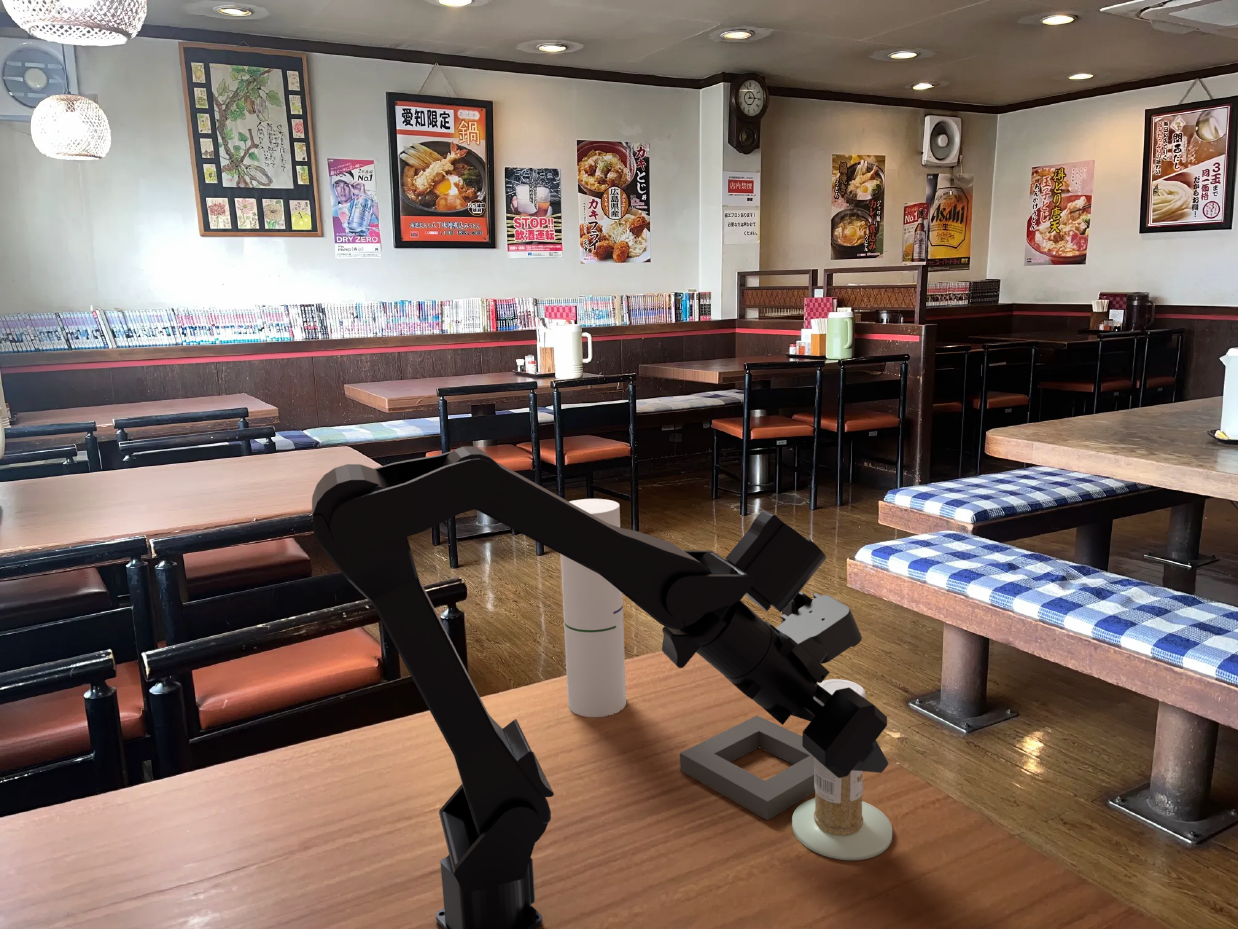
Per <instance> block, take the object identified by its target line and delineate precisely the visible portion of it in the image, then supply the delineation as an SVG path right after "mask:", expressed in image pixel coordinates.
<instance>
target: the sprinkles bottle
mask: <svg viewBox="0 0 1238 929" xmlns="http://www.w3.org/2000/svg"><path fill="white" fill-rule="evenodd" d="M817 684H818V685H819V686H821V687H822V688H823V689H825V690H826V691H827V692H829V693H830V694H831V695H832V694H833V693H834V692H835V691H836V690H839V689H844V688H849V687H850V688H851V689H852V690H854V691H855V692H857V693H858V694H859V695H861V696H862V697H864V698H865V699H866V698H867V697H866V696H867V695H866V691H865V689H864V688H863V686H862V685H860V684H859V683H857V682H855V681H851V680H847V679H843V678H842V679H841V678H839V679H837V678H832V679H831V678H830V679H824V680H823V681H822V683H819V682H817ZM814 700H815V701H817V702H818V703H819V704H820V705H822V706H824V704H823V703H822V702H821V701H820V700H818V699H817V698H816V697H814ZM866 700H867V699H866ZM814 787H815V792H814V793H815V794H814V795H815V796H814V798H815V804H816V805H815V812H814V820H815V823H816V824H817V825H818V826H819V827H820V828H821V829H823V830H825V831H827V832H829V833H832V834H836V835H847V834H852V833H855V832H856V831H858V830H859V829H861V827H862V825H863V817H862V801H863V793H864V771H854V770H852V771H851V772H850V773H849V775H848V776H846V777H842V778H838V777H837V776H836V775H834V774H833V773H832V772H831V771H829V770H828V769H827V768H826V767H825V766H824V765H822V764H821V763H820V762H819V761H818V760H817V759H816V758H815V757H814Z"/></svg>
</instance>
